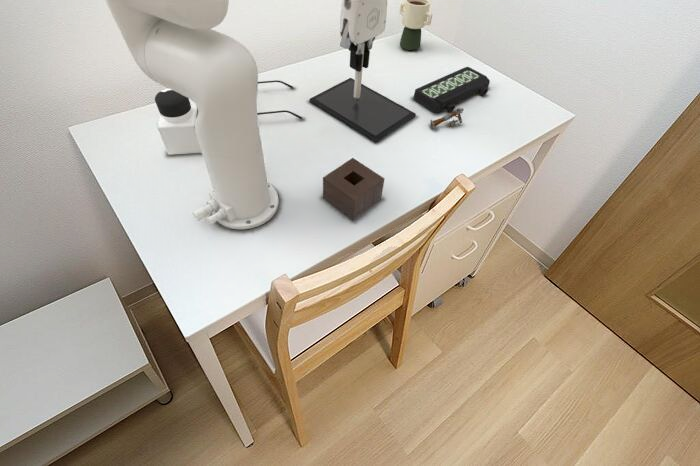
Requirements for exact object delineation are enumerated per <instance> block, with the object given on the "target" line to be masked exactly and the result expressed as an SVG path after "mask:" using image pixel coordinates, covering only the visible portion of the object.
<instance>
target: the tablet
mask: <svg viewBox="0 0 700 466" xmlns="http://www.w3.org/2000/svg"><path fill="white" fill-rule="evenodd" d="M354 83H355V78H352V77H349V78H347V79H345V80H343V81H341V82H339V83H337V84H335V85H333V86H331V87H330V88H328V89H325V90H324V91H322V92H320V93H318V94H316V95H315V96H312V97H311V98H309V99H308V100H309V103H311V104H312V105H314V106H315V107H316V108H318V109H320V110H321V111H323V112H325V113H327V114H328V115H330V116H331V117H333V118H335V119H336V120H338V121H339V122H341V123H342V124H344V125H346V126H348V127H349V128H350V129H352V130H354V131H355V132H357V133H359V134H360V135H362V136H363V137H365V138H367V139H368V140H370V141H371V142H374V143H375V144H377V143H378V142H380V141H381V140H383V139H384V138H386V137H387V136H389V135H390V134H392V133H393V132H395V131H396V130H398V129H399V128H401V127H402V126H404V125H406V124H407V123H408V122H410V121H411V120H413V119H414V118H416V115H417V113H415V112H414V111H412V110H410V109H408V108H406V107H405V106H404V105H403V106H402V105H401V104H399V103H398V102H395V101H394V100H392V99H391V98H388V97H387V96H385V95H384V94H381V93H379V92H377V91H376V90H374V89H372V88H370V87H368V86H367V85H365V84H363V83H361V92H360V98H358V101H355V98H354Z"/></svg>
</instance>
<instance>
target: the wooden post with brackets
mask: <svg viewBox="0 0 700 466" xmlns="http://www.w3.org/2000/svg"><path fill="white" fill-rule="evenodd" d="M464 110H465V108H463V107H458V108H456V109H454V110H453V111H452V112H448V113H447V114H445V115H442V117H439V118H437V119H434V120H432V119H430V120H429V122H430V125H431V127H432V129H433V130H436V127H437V126H439V125H441V124H443V123H444V122H447V121H449V120H451V119H452V120H451V121H449V122H448V123H447V126H448V127H453V126H456V125H457V124H456V123H458V122H459V124H462V123H463V118H462V114H463V111H464ZM454 117H455V118H457V119H453V118H454Z"/></svg>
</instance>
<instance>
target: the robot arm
mask: <svg viewBox="0 0 700 466" xmlns="http://www.w3.org/2000/svg"><path fill="white" fill-rule="evenodd" d="M104 1H105V3H106V5H107V8H108V9H109V11H110V13H111V15H112V17H113V19H114V22H115V24H116V26H117V28H118V30H119V32H120V34H121V36H122V38H123V40H124V42H125V44H126V47H127V49H128V52H130V54H131V56H132V58H133V60H134V61H135V63H136V65H137V66H138V68H139V69H140V70H141V72H143V74H144V75H146V76H147V77H148V78H149V79H150V80H152V81H154V82H155V83H157V84H159V85H161V86H163V87H164V88H166V89H168V88H169V89H171V90H173V91H175V92H178V93H180V94H181V95H183V96H185V97H187V98H189V100H190V101H192V102H193V103H194V104H195V105H196V106H197V107H198V115H197V118H196V121H195V132H196V136H197V140H198V143H199V146H200V149H201V152H202V153H201V155H202V158H203V162H204V165H205V167H206V171H207V172H208V177H209V179H210V183H211V186H212V190H213V191H210V192H209V193H208V195H209V198H210V199H209V200H207V201H206V204H205V205H203V206H199V208H196V209H195V210H193V211H192V212H191V214H192V216H193V218H194V219H195V220H196V221H197V222H200V221H201V220H203V219H205V218H206V217H207V218H206V219H207V221H208V223H209V224H210V225H213V224H215V223H216V222H217V223H219V224H220V225H222V226H223V227H225V228H228V229H233V230H250V229H254V228H257V227H260V226H262V225H264V224H265V223H267V222H269V221H270V220H271V219H272V218H274V216H275V214H276V213H277V211H278V208H279V204H280V201H279V200H280V199H279V195H278V192H277V190H276V188H275V187H274V186H273V185H272V184H270V183H269V182H268V177H267V171H266V170H267V169H266V163H265V158H264V151H263V145H262V144H263V143H262V138H261V131H260V125H259V117H258V115H257V113H258V101H257V100H258V98H257V97H258V88H259V87H258V86H259V84H258V82H259V72H258V71H259V69H258V65H257V62H256V60H255V57H254V56H253V54H252V53H251V52H250V50H248V48H247V47H246V46H245V45H244V44H242V43H241V42H240V41H238V40H236V39H235V38H234V37H231V36H230V35H227V34H225V33H221V32H219V31H217V30H214V28H216V27H218V26H219V25H221V23H222V22H223V21H224V19H225V18H226V16H227V14H228V12H229V11H228V10H229V3H230V0H104ZM387 15H388V0H341V6H340V15H339V17H340V18H339V34H340V37H341V38H340V43H339V46H340V47H341V48H343V49H345V50H347V49H348V51H349V68H350V69H352V70H354V71H355V70H356V71H358V72H360V71H361V70H362V71H363V69H368V68H369V64H370V54H371V50H372V48H373V44H374V41H375V40H376V38H377V37H378V36H380V35H382V34H383V33H384V32H385V30H386V25H387ZM363 42H364V43H365V45H364V57H363V54H361V46H362V43H363ZM362 58H363V69H362ZM210 214H211V215H210ZM208 215H210V216H208Z"/></svg>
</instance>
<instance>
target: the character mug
mask: <svg viewBox="0 0 700 466" xmlns="http://www.w3.org/2000/svg"><path fill="white" fill-rule="evenodd" d="M430 5H431V1H430V0H404V1H400V5H399V11H398V12H399V15H402V17H401V24H402V25H403V26H404V27H403V30H402V32H401V37H400V40H399V46H400V47H401V48H402V49H404V50H408V51H414V50H417V49H420V48H421V43H422V29H423V28H424V27H425V26H428V27H429V26H430V25H431V23H432V19H433V13H431V12H430V8H431V7H430Z"/></svg>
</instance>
